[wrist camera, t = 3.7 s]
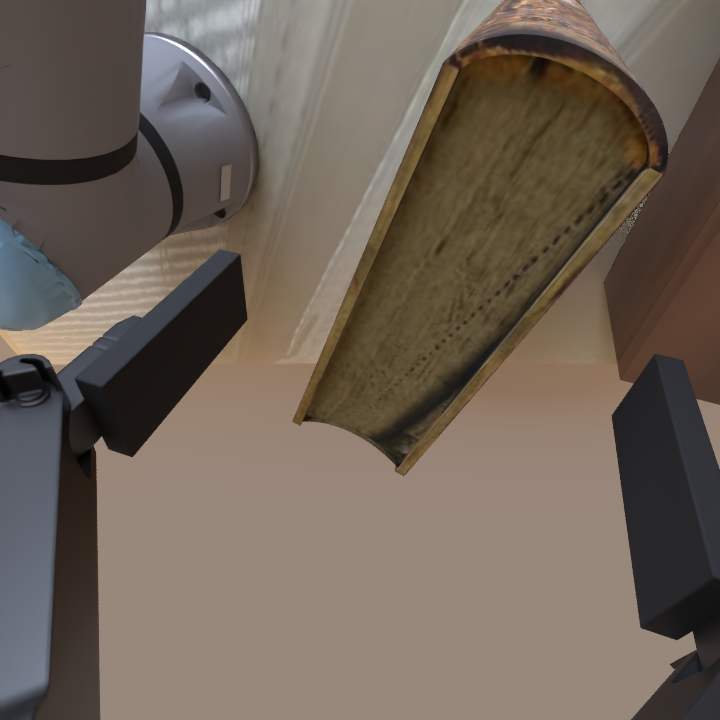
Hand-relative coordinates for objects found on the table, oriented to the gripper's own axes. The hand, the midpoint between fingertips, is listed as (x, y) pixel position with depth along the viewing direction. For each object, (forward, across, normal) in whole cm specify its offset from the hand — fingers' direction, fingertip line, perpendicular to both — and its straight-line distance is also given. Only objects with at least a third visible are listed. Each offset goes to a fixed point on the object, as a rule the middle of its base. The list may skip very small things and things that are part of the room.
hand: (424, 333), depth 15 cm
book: (+25, 0, 0) cm, 25 cm away
